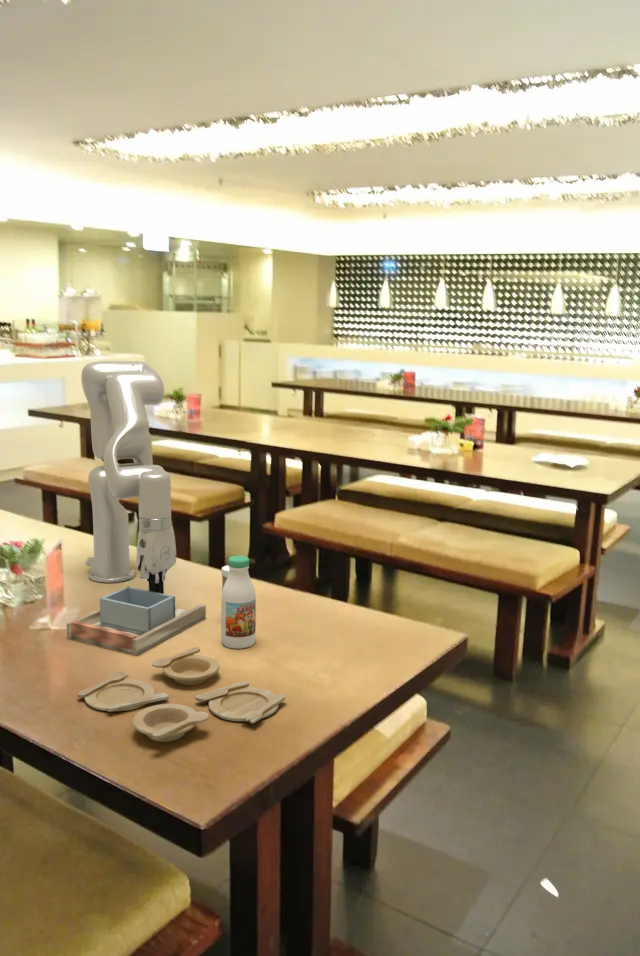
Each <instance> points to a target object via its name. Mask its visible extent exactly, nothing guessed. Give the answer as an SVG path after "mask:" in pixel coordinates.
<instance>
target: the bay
mask: <svg viewBox="0 0 640 956" xmlns="http://www.w3.org/2000/svg"><path fill="white" fill-rule="evenodd" d="M206 614H207V606H206V604H203V603H200V604H198V605H196V606H195V607H193V608H191V609H189V610H188V609H181V608H177V607H175V618H173V619H171V620H170V621H168V622H166V623H164V624H162V625H160V626H158V627H156V628H154V629H152V630H150V631H148V632H146V633H144V634H138V633H134V632H129V631H125V630H121V629H117V628H113V627H108V626H104V625H101V624H100V608H99V609H96V610H94V611H92V612H90V613H87V614H85V615H82V616H80V617H78V618H76V619H74V620H72V621H69V622H67V623H66V638H67V639H70V640H73V641H77V640H78V641H77V642H81V641H82V642H81V643H84V642H86V644H88V643H90V644H89V645H92V644H93V646H96V647H101V648H103V649H108V650H113V651H117V652H121V653H125V654H129V655H133V656H136V657H138V656H140V655H142V654H143V653H145V652H147V651H149V650H150V649H152V648H155V647H156V646H158V645H160V644H162V643H163V642H166V641H167V640H169V639H171V638H172V637H175V636H176V635H179V634H180V633H182V632H183V630H184V631H185V629H186V630H187V629H189V628H191V627H193V626H195V625H196V624H198V623H200V622H202V621H204V620H205V618H207V615H206ZM203 619H204V620H203ZM201 620H202V621H201ZM194 624H195V625H194ZM192 625H193V626H192ZM190 626H191V627H190ZM188 627H189V628H188ZM181 631H182V632H181ZM179 632H180V633H179ZM174 635H175V636H174Z"/></svg>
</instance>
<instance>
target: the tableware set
mask: <svg viewBox="0 0 640 956" xmlns="http://www.w3.org/2000/svg"><path fill="white" fill-rule="evenodd" d="M200 651H201V648H200V647H198V646H195V647H192V648H189V649H187V650H184V651H182V652H180V653H177V654H175V655H172V656H170V657H162V658H156V659H155V660H153V661H152V662H151V666H152V667H153V668H159V669H160V668H161V670H162V673H163V675H165V676H166V677H168V678H170V679H173V680H174V681H175V682H176V683H178V684H181V685H185V686H194V685H198V684H202V683H204V682H206V681H207V680H208V679H209V677H212V676H214V675H215V674H217V673H218V672H219V670H220V663H219V661H218V660H217V659H215V658H213V657H210V656H208V655H203V654H201V655H200V654H198V653H200ZM128 677H129V674H128V673H125V672H121V671H116V672H114V673H112V674H109V675H108V676H107V679H106V680H103V681H101V682H98V683H97V684H95V685H92V686H89V687H87V688H85V689H83V690H80V691H79V692H77V697H78V698H84V701H85V703H86V705H88V707H91V708H93V709H95V710H99V711H106V712H124V711H131V710H135V709H139V708H140V707H143V706H145V705H147V704H151V703H155V702H160V701H165V700H169V694H168V693H165V692H158V693H156V690H155V687H154V686H152V684H150V683H148V682H146V681H143V680H139V679H132V678H128ZM108 691H109V692H110V693H109V692H108ZM105 693H108V694H109V695H108V694H105ZM103 694H104V695H107V696H106V697H105V696H104V697H103V696H102V695H103ZM194 700H195V701H197V702H201V703H202V702H205V701H208V707H209V710H210V711H209V712H211V713H212V714H213V715H214V716H216V717H218V718H220V719H223V720H227V721H233V722H249V723H250V724H255V723H257V722H258V721H260V720H262V719H264V718H268V717H269V716H271V715H273V714H274V713H276V712H277V711H278V709H279V707H280V704H281V703H283V702H284V701H285V700H286V695H285V694H282V693H280V694H277V695H276V694H275V693H273V692H272V691H270V690H268V689H264V688H260V687H253V686H250V681H248V680H244V681H241V682H240V681H239V682H236V683H233V684H231V685H227V686H224V687H221V688H218V689H214V690H210V691H207V692H203V693H200V694H197V695H195V696H194ZM209 718H210V714H209V713H208V712H205V711H196V710H195V709H194V708H192V707H190V706H188V705H187V706H186V705H183V704H179V703H178V704H177V703H161V704H156V705H151V706H148V707H146V708H143V709H141V710H139V711H138V712H137V713H136V714H135V715H134V717H132V724H133V727H134V728H135V729H136V730H137V731H138V732H140V733H141V734H144V735H146V736H147V738H148V739H150V740H152V741H154V742H159V743H163V742H164V743H166V742H167V743H168V742H173V741H174V742H175V741H176V740H179V739H181V738H183V737H184V735H185V734H186V733H187V732H188V731H190V730H193V728H195V727H196V726H197V724H202V723H205V722H206V721H208V720H209Z"/></svg>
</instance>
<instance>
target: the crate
mask: <svg viewBox="0 0 640 956" xmlns="http://www.w3.org/2000/svg"><path fill="white" fill-rule="evenodd" d="M175 608H176V596H175V595H170V594H166V593H164V594H161V593H157V592H152V591H149V590H146V589H142V588H137V587H132V586H126V587H124V588H121V589H118V590H117V591H114V592H112V593H109V594H107V595H105V596H103V597H100V598H99V609H100V624H101V625H104V626H108V627H113V628H117V629H121V630H125V631H129V632H134V633H138V634H144V633H146V632H148V631H150V630H152V629H154V628H156V627H158V626H160V625H162V624H164V623H166V622H168V621H170V620H171V619H173V618H175Z"/></svg>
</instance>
